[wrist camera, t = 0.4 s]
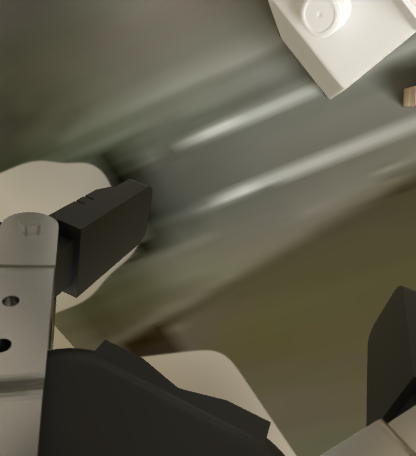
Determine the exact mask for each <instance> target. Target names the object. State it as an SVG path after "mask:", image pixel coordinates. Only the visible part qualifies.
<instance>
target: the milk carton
mask: <svg viewBox="0 0 416 456" xmlns="http://www.w3.org/2000/svg"><path fill="white" fill-rule="evenodd" d="M268 2H269V5H270V8H271V11H272V13H273V16H274V19H275V22H276V25H277V28H278V31H279V33H280V36H281V39H282V40H283V41H284V43H285V44H286V45H287V47H288V48H289V49H290V50H291V52H292V53H293V54H294V56H295V57H296V58H297V59H298V61H299V62H300V63H301V64H302V66H303V67H304V68H305V69H306V71H307V72H308V73H309V75H310V76H311V77H312V78H313V80H314V81H315V82H316V83H317V85H318V86H319V87H320V88H321V90H322V91H323V92H324V93H325V95H326V96H327V97H328V98H329V99H332V98H333V97H335V96H336V95H337V94H339V93H340V92H342V91H343V90H345V89H346V88H348V87H349V86H350V85H351V84H352V83H354V82H355V81H356V80H357V79H359V78H360V77H361V76H362V75H364V74H365V73H366V72H367V71H368V70H370V69H371V68H372V67H373V66H375V65H376V64H377V63H378V62H379V61H381V60H382V59H383V58H384V57H386V56H387V55H388V54H389V53H390V52H392V51H393V50H394V49H395V48H397V47H398V46H399V45H400V44H402V43H403V42H404V41H405V40H406V39H408V38H409V37H410V36H411V35H413V34H414V33H415V32H416V0H268Z"/></svg>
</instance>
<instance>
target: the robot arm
mask: <svg viewBox="0 0 416 456" xmlns="http://www.w3.org/2000/svg"><path fill="white" fill-rule="evenodd" d="M151 199H152V188H151V187H150V186H147V185H145V184H142V183H139V182H137V181H134V180H132V179H129V180H127V181H125V182H123V183H121V184H120V185H118V186H116V187H114V188H113V187H107V188H102V189H98V190H95V191H93V192H91V193H89V194H88V195H86V196H85V197H82V198H80V199H78V200H77V201H76V202H75V201H74V202H73V203H71V204H69V205H67V206H65V207H63V208H62V209H59V210H58V211H56V212H54V213H52V214H50V215H45V214H41V213H34V212H25V213H18V214H14V215H12V216H9V217H8V218H6V219H5V220H4V221H3V222H0V456H285V455H284V454H283V453H282V452H281V451H280V450H279V449H278V448H277V447H276V446H275V445H274V444H273V443H272V442H271V441H270V440H269V439H267V434H268V430H269V427H270V422H269V421H267V420H265V419H262V418H261V417H258V416H257V415H255V414H253V413H251V412H249V411H247V410H245V409H243V408H241V407H239V406H237V405H235V404H233V403H231V402H229V401H227V400H223V399H219V398H215V397H211V396H207V395H202V394H199V393H195V392H191V391H187V390H183V389H180V388H178V387H176V386H175V385H174V384H173V383H171V382H170V381H169V380H168V379H166V378H165V377H164V376H163V375H162V374H161V373H159V372H158V371H157V370H156V369H155V368H154V367H152V366H151V365H150V364H149V363H148V362H146V361H145V360H144V359H143V358H141V357H139V356H137V355H135V354H133V353H131V352H129V351H127V350H125V349H123V348H121V347H119V346H117V345H115V344H113V343H111V342H109V341H107V340H104V341H103V343H102V344H101V345H100V346H99V347H98V348H97V349H96V350H95V351H93V350H87V349H80V348H66V349H55V350H53V338H54V325H55V311H56V310H55V309H56V296H57V295H58V294H60V293H61V292H62V291H63V292H65V293H67V294H69V295H71V296H73V297H76V298H77V297H78V296H79V295H80V294H82V293H83V292H84V291H85V290H86V289H87V288H88V287H90V286H91V285H92V284H93V283H94V282H95V281H96V280H98V279H99V278H100V277H101V276H102V275H104V274H105V273H106V272H107V271H108V270H109V269H110V268H112V267H113V266H114V265H115V264H116V263H117V262H119V261H120V260H121V259H122V258H123V257H124V256H125V255H126V254H128V253H129V252H130V251H131V250H132V249H134V248H135V247H136V246H137V245H138V244H139V243H140V242H141V240H142V238H143V237H144V234H145V232H146V228H147V222H148V216H149V211H150V205H151ZM321 456H416V291H414V290H411V289H408V288H406V287H403V286H399V287H398V288H397V289H396V290H395V291H394V293H393V294H392V296H391V298H390V299H389V301H388V303H387V304H386V306H385V308H384V309H383V311H382V312H381V314H380V316H379V317H378V319H377V321H376V322H375V324H374V326H373V328H372V330H371V333H370V336H369V340H368V363H367V422H366V428H364V429H362V430H361V431H359V432H358V433H356V434H354V435H353V436H351V437H349V438H348V439H346V440H345V441H343V442H341V443H340V444H338V445H337V446H335V447H333V448H332V449H330V450H329V451H327V452H325V453H324V454H322V455H321Z"/></svg>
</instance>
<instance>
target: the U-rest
mask: <svg viewBox="0 0 416 456" xmlns="http://www.w3.org/2000/svg"><path fill="white" fill-rule="evenodd" d="M409 106H416V86H413V87H409V88H405V89H404V97H403V107H409Z"/></svg>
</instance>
